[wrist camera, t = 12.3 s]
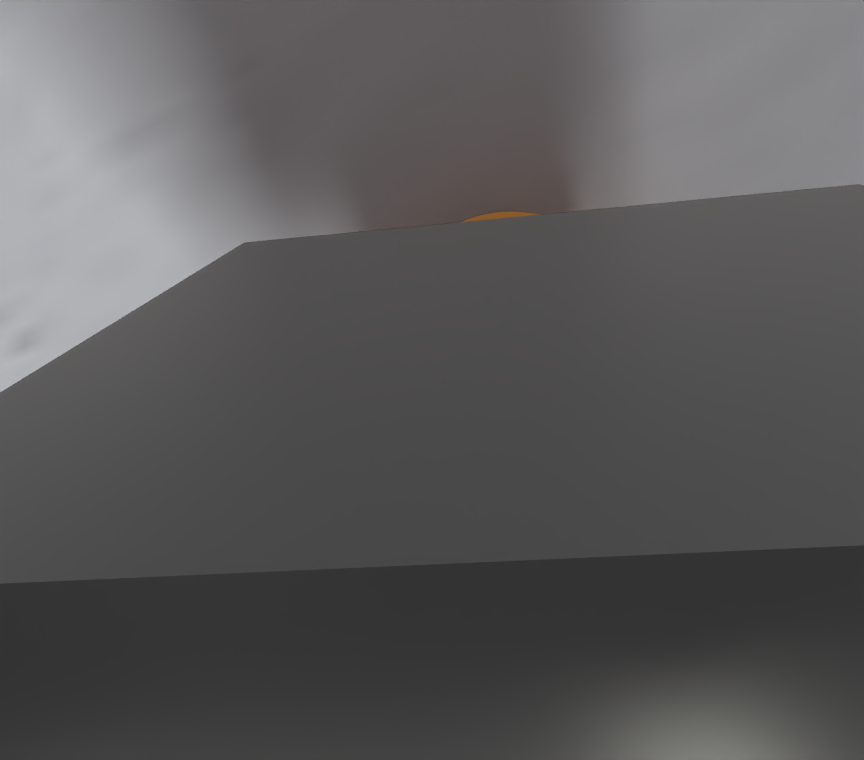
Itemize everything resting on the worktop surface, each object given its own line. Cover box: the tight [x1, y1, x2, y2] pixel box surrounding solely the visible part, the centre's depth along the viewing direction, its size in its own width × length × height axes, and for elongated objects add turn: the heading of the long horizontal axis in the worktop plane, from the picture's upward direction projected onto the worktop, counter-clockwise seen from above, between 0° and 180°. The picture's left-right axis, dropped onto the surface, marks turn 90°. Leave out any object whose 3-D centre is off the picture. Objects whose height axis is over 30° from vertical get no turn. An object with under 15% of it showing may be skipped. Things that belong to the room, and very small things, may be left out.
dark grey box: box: [0, 184, 864, 760], centre depth 7 cm, size 8×8×7 cm
